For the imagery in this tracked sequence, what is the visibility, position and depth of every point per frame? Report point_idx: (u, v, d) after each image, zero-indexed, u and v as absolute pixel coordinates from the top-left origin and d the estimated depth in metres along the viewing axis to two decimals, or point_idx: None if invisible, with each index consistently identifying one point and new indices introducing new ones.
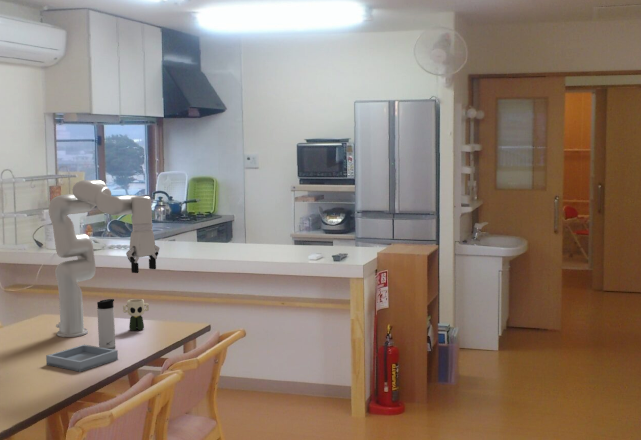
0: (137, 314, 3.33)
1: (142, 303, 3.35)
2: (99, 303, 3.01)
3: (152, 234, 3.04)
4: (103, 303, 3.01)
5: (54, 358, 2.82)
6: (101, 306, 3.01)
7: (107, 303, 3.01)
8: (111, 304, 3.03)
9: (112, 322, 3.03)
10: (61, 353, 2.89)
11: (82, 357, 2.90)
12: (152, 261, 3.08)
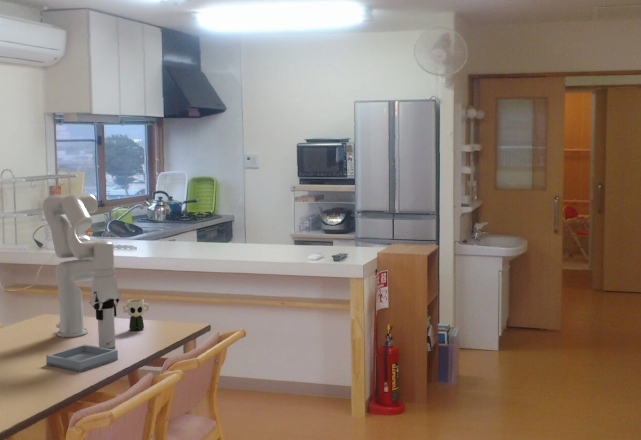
0: (137, 314, 3.33)
1: (142, 303, 3.35)
2: None
3: (114, 279, 3.05)
4: (103, 303, 3.01)
5: (54, 358, 2.82)
6: None
7: (107, 303, 3.01)
8: (111, 304, 3.03)
9: (112, 322, 3.03)
10: (61, 353, 2.89)
11: (82, 357, 2.90)
12: None
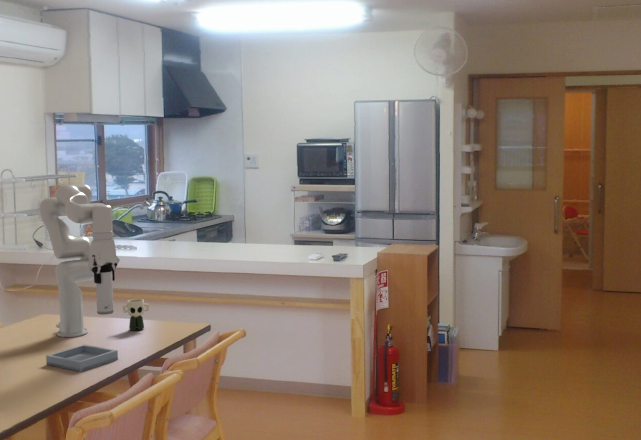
0: (137, 314, 3.33)
1: (142, 303, 3.35)
2: None
3: (113, 243, 3.03)
4: (101, 266, 3.00)
5: (54, 358, 2.82)
6: None
7: (105, 267, 3.00)
8: (109, 268, 3.02)
9: (110, 286, 3.02)
10: (61, 353, 2.89)
11: (82, 357, 2.90)
12: None
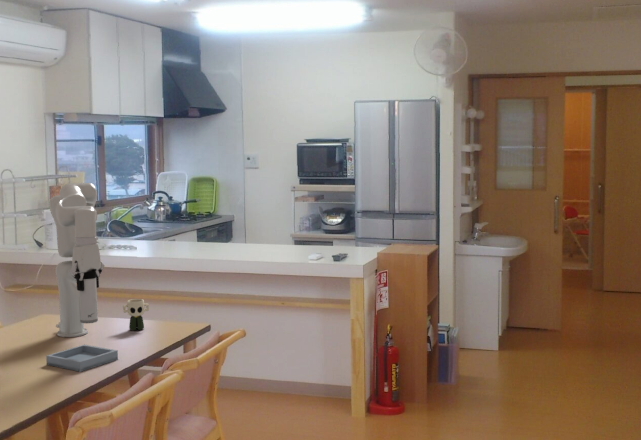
0: (137, 314, 3.33)
1: (142, 303, 3.35)
2: None
3: (97, 248, 2.88)
4: (84, 273, 2.85)
5: (54, 358, 2.82)
6: None
7: (89, 273, 2.85)
8: (93, 274, 2.87)
9: (94, 293, 2.87)
10: (61, 353, 2.89)
11: (82, 357, 2.90)
12: None
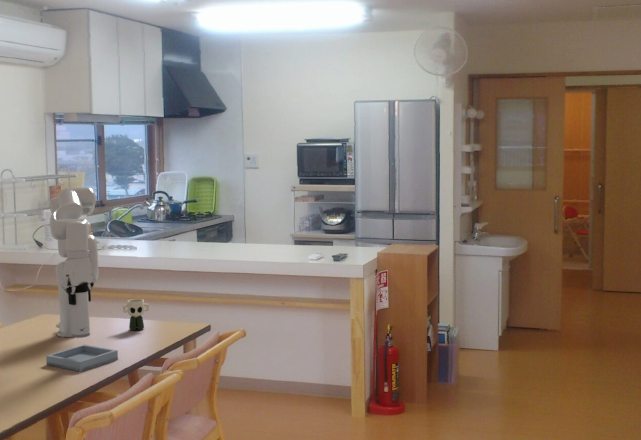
0: (137, 314, 3.33)
1: (142, 303, 3.35)
2: None
3: (88, 261, 2.85)
4: (76, 287, 2.81)
5: (54, 358, 2.82)
6: None
7: (81, 287, 2.82)
8: (85, 288, 2.83)
9: (86, 307, 2.84)
10: (61, 353, 2.89)
11: (82, 357, 2.90)
12: None
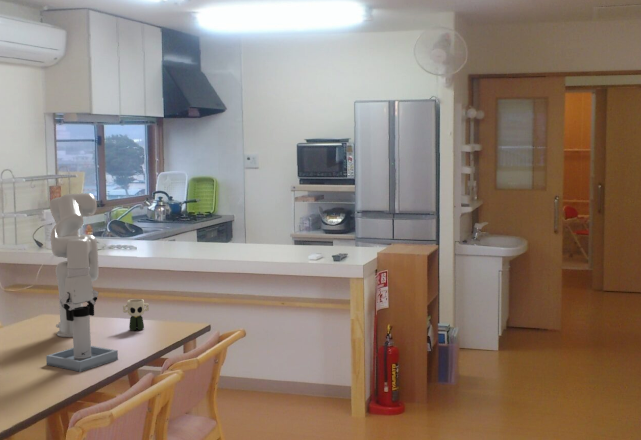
0: (137, 314, 3.33)
1: (142, 303, 3.35)
2: (74, 311, 2.83)
3: (89, 279, 2.86)
4: (78, 311, 2.83)
5: (54, 358, 2.82)
6: (75, 314, 2.83)
7: (82, 311, 2.83)
8: (86, 312, 2.85)
9: (88, 331, 2.85)
10: (61, 353, 2.89)
11: None
12: (90, 307, 2.89)
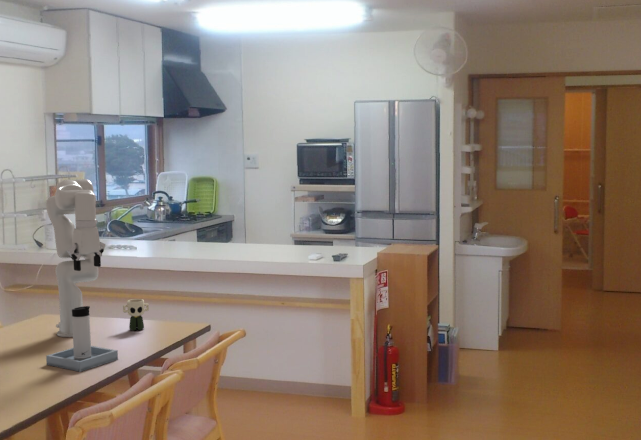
0: (137, 314, 3.33)
1: (142, 303, 3.35)
2: (74, 311, 2.83)
3: (96, 231, 2.96)
4: (78, 311, 2.83)
5: (54, 358, 2.82)
6: (75, 314, 2.83)
7: (82, 311, 2.83)
8: (86, 312, 2.85)
9: (88, 331, 2.85)
10: (61, 353, 2.89)
11: None
12: (97, 258, 2.99)
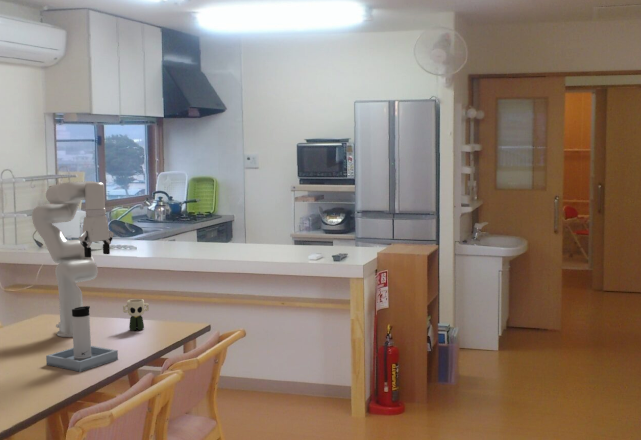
0: (137, 314, 3.33)
1: (142, 303, 3.35)
2: (74, 311, 2.83)
3: (105, 219, 3.10)
4: (78, 311, 2.83)
5: (54, 358, 2.82)
6: (75, 314, 2.83)
7: (82, 311, 2.83)
8: (86, 312, 2.85)
9: (88, 331, 2.85)
10: (61, 353, 2.89)
11: None
12: (106, 246, 3.13)
